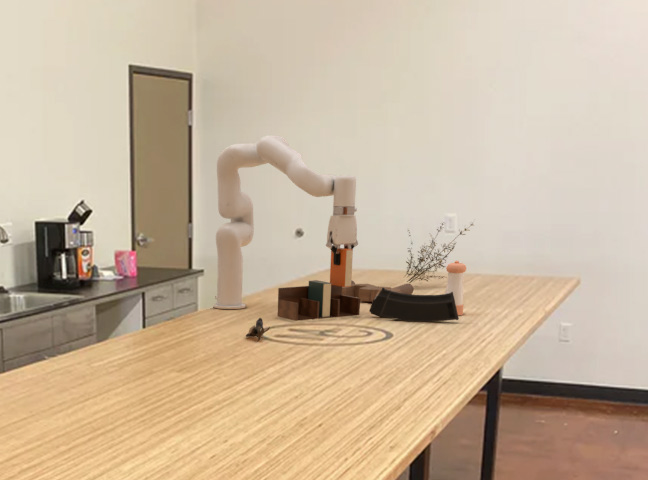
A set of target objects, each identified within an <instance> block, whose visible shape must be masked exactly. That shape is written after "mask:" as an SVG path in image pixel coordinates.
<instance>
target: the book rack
mask: <svg viewBox="0 0 648 480" xmlns="http://www.w3.org/2000/svg"><path fill="white" fill-rule="evenodd" d="M308 289H309V285H301V286H300V285H299V286H288V287H287V286H286V287H278V289H277V291H278V292H277V317H279V318H283V319H288V320H292V321H295V322H297V321H308V320H310V321H311V320H320V319H321V320H322V319H330V318H331V319H332V318H343V317H354V316H355V317H356V316H360V310H361V309H360V306H361V301H360V298H359V297H351V296H346V295H342V287H341V286H335V285H331V299H330V317H319V301H314V300H310V299H308Z"/></svg>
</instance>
